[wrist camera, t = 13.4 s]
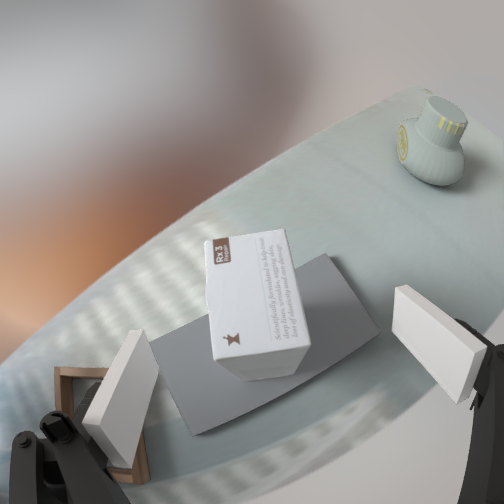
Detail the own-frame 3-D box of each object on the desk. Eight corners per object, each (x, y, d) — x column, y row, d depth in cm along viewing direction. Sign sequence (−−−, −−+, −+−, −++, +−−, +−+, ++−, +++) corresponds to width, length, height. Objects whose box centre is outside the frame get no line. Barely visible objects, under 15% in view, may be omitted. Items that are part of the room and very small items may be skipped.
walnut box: (74, 467, 18) (63, 469, 16) (65, 369, 23) (54, 366, 21) (150, 479, 18) (141, 484, 16) (137, 370, 23) (127, 367, 21)
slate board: (194, 435, 20) (192, 436, 19) (152, 344, 24) (148, 342, 23) (376, 334, 24) (380, 332, 23) (324, 257, 28) (325, 252, 27)
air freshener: (454, 202, 30) (489, 148, 21) (400, 188, 32) (428, 125, 23) (439, 148, 35) (461, 97, 26) (391, 134, 37) (408, 78, 28)
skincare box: (296, 374, 22) (322, 350, 11) (240, 382, 22) (211, 367, 11) (283, 303, 25) (293, 223, 14) (231, 311, 25) (201, 237, 14)
